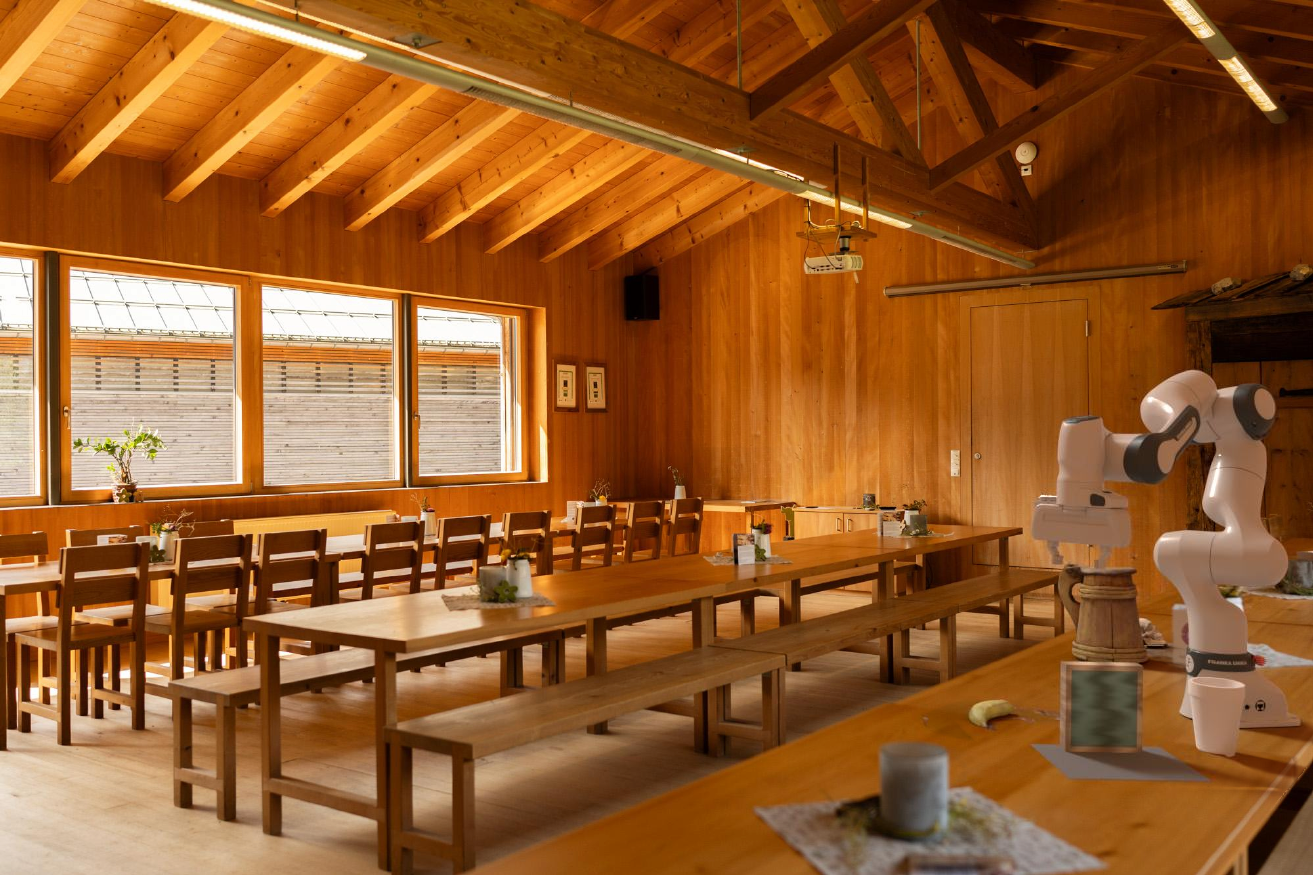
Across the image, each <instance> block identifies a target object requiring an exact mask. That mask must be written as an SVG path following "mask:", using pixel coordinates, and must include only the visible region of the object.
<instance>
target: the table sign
mask: <svg viewBox="0 0 1313 875" xmlns="http://www.w3.org/2000/svg"><path fill="white" fill-rule="evenodd" d="M1059 679H1060V681H1059V682H1060V684H1059V685H1060V687H1059V688H1060V691H1059V692H1060V693H1059V694H1060V695H1059V700H1060V701H1059V702H1060V703H1059V712H1060V720H1059V745H1060V748H1062V749H1063V750H1064V751H1067V752H1115V753H1142V746H1143V719H1144V718H1143V713H1144V708H1143V707H1144V695H1143V694H1144V666H1143V665H1142V664H1140V663H1123V662H1090V661H1063V660H1061V661H1060V678H1059Z"/></svg>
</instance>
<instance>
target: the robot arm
mask: <svg viewBox="0 0 1313 875" xmlns="http://www.w3.org/2000/svg"><path fill="white" fill-rule="evenodd" d="M1277 410H1278V409H1277V402H1276V399H1275V397H1274V394H1273V393H1272V392H1271V391H1270V390H1269V389H1268V388H1267V387H1266V386H1264V385H1263V384H1261V383H1255V382H1254V383H1252V382H1251V383H1242V384H1239V385H1238V386H1237V385H1236V386H1231V387H1230V386H1229V387H1224V388H1220V389H1218V388H1217V384H1216V382H1215V381H1214V379H1213V378H1212V377H1211V376H1210V375H1208V373H1205V372H1204V371H1201V370H1196V369H1190V370H1184V371H1182V372H1180V373H1177V374H1174V375H1173V376H1171V377H1169V378H1167V379H1166V380H1164V381H1162V382H1161V383H1159V384H1158V385H1157V386H1155V387H1154V388H1152V389H1151V390H1150V391H1149V392H1148V393H1147V394H1146V395H1145V396H1144V398H1143V399H1142V401H1141V403H1140V411H1139V412H1140V418H1141V420H1142V423H1143V424H1144V426H1145V428H1146V429H1147V430H1149V432H1147V433H1113V432H1112V431H1110V430H1108V429H1107V427H1105V426H1104V420H1103V418H1102V417H1101V416H1098V415H1080V416H1079V415H1078V416H1077V415H1076V416H1069V417H1068V418H1066V419H1064V420H1063V421H1062V423H1061V426H1060V430H1059V436H1058V442H1057V463H1058V467H1059V468H1058V470H1059V472H1058V476H1057V478H1056V495H1047V494H1041V495H1040V496H1039V497H1037V498H1036V499H1035V500H1034V503H1033V515H1032V519H1031V520H1032V521H1031V528H1030V531H1031V532H1030V535H1031V537H1032V538H1033V540H1037V541H1045V542H1046V547H1047V550H1048V551H1049V553H1050V555H1051V564H1052V565H1059V566H1061V565H1064V555H1061V554H1060V552H1059V550H1058V547H1060V543H1065V544H1066V543H1068V544H1079V545H1090V546H1098V547H1099V552H1101V554H1100V556H1098V559H1094V560H1093V563H1094V566H1093V567H1094V568H1095V569H1106V567H1107V560H1108V559H1109V557H1110V556H1111V555H1112V553H1113V548H1127V547H1128V546H1129V545H1130V544H1131V542H1132V525H1131V524H1132V523H1131V516H1130V514H1129V512H1128V510H1126V509H1127V508H1129V507H1128V506H1129V498H1128V497H1127V496H1124V495H1122V494H1119V493H1117V492H1114V491H1111V490H1109V489H1108V488H1105V482H1120V483H1121V482H1122V483H1123V482H1125V483H1138V484H1145V485H1151V486H1153V485H1158V484H1160V483H1162V482H1163V481H1164V480H1165V479H1167V478H1168V476H1170V474H1171V472H1172V471H1173V469H1174V466H1175V464H1176V461H1177V460H1178V459H1179V458H1180V456H1181V455H1182V454H1183V453H1184V451H1185V450H1186V449H1187V448H1188V446H1189V445H1191V446H1192V445H1194V446H1201V445H1204V444H1207V443H1214V445H1215V449H1216V450H1215V454H1214V456H1213V460H1212V461H1211V465H1210V468H1209V471H1208V475H1207V479H1206V482H1205V488H1204V492H1203V496H1202V501H1201V503H1202V509H1203V511H1204V514H1206V516H1207V517H1208V518H1209V519H1210V520H1212V521H1213V522H1214V523H1216V524H1218V525H1219V526H1221V527H1224V528H1225V529H1224V530H1222V531H1208V530H1207V531H1205V530H1192V529H1191V530H1189V529H1183V530H1175V531H1167V532H1165V533H1163V534H1162V535H1160V537H1159V538H1158V540H1157V541H1156V542H1155V545H1154V547H1153V555H1152V556H1153V561H1154V565H1155V566H1156V568H1157V570H1158V571H1159V572H1160V573H1161V575H1163V576H1164V577H1165V578H1167V579H1168V580H1169V581H1170V582H1171V583H1172V585H1173V586H1174V587H1175V588H1176V589H1177V591H1178V593H1179V594H1180V596H1181V599H1182V600H1183V603H1184V605H1185V610H1186V613H1187V623H1188V624H1187V625H1188V626H1187V628H1188V646H1186V650H1185V652H1186V653H1185V654H1186V655H1185V672H1186V682H1185V683H1186V684H1185V689H1184V694H1183V698H1182V703H1181V704H1180V708H1179V714H1181V715H1182V716H1184V717H1186V718H1189V719H1192V720H1193V717H1192V709H1191V701H1190V694H1189V693H1188V680H1189V679H1190V678H1195V677H1212V678H1222V679H1228V680H1234V681H1237V682H1241V683H1243V684H1244V685H1245V699H1244V701H1243V707H1242V714H1241V720H1240V726H1239V729H1242V728H1243V729H1244V728H1245V729H1247V728H1276V727H1278V728H1279V727H1280V728H1281V727H1299V726H1301V719H1300V717H1298V716H1297V715H1295V714H1294V713H1290V712H1289V708H1288V702H1287V698H1286V695H1285V693H1284V692H1283V691H1282V689H1281V688H1279V687H1278V686H1277V685H1276V684H1275V683H1273V682H1272V681H1270V679H1269V678H1267V677H1265V676H1264V675H1263V674H1261V673H1260V672H1259V671H1258V670H1257V668H1256V665H1258V666H1260V667H1264V666H1265V665H1266V664H1267V659H1266V657H1264V656H1261V655H1260V654H1259V655H1258V654H1256V655H1254V654H1253V653H1251V652H1249V651H1248V627H1249V626H1248V617H1247V615H1246V614H1245V612H1244V611H1243V609H1241V608H1240V607H1239V606H1238V605H1236V604H1235V603H1233V602H1230V601H1229V600H1227V599H1226V598H1225V597H1224V596H1223V594H1222V593H1221V592H1220V588H1219V585H1225V586H1234V587H1235V586H1236V587H1247V588H1256V587H1270V586H1275V585H1277V584H1279V583H1280V582H1281V581H1282V580H1283V578H1284V577H1285V575H1286V574H1287V571H1288V568H1289V558H1288V553H1287V550H1286V549H1285V547H1284V545H1283V544H1282V543H1281V542H1280V541H1279V540H1278V539H1276V538H1275V537H1274V536H1272V535H1271V534H1270V533H1269V531H1268V530H1267V529H1266V528H1265V526H1264V524H1263V521H1262V518H1261V510H1262V509H1261V508H1262V507H1261V506H1262V502H1263V501H1262V499H1263V493H1264V488H1265V483H1266V478H1267V466H1268V465H1267V459H1268V458H1267V456H1268V455H1267V450H1266V449H1267V448H1266V446H1265V445H1264V443H1263V442H1262V440H1264V439H1265V438H1267V436H1268V435H1269V434H1270V431H1271V428H1272V426H1273V425H1274V422H1275V419H1276V416H1277Z"/></svg>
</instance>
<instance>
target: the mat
mask: <svg viewBox="0 0 1313 875" xmlns="http://www.w3.org/2000/svg"><path fill="white" fill-rule="evenodd" d="M1029 745H1030V746H1032V748H1034V749H1035V750H1036V751H1037V752H1038V753H1039V754H1040V755H1042V756H1043V757H1044V758H1045V759H1046V760H1047V761H1048V762H1049V763H1051V764H1052V765H1053V766H1054V768H1056V769H1057V770H1058V771H1059V772H1060V773H1061V774H1063V775H1064V776H1065V777H1067V779H1068V780H1069V779H1071V780H1105V781H1106V780H1108V781H1109V780H1110V781H1113V780H1115V781H1153V782H1154V781H1156V782H1194V783H1195V782H1197V783H1200V782H1203V783H1204V782H1205V783H1213V780H1211V779H1209V778H1208V777H1207V776H1205V775H1203V774H1201V773H1200V772H1199V771H1197V770H1195V769H1194V768H1193V767H1191V766H1189V765H1188V764H1186V763H1184V762H1183V761H1182V760H1180V759H1179V758H1178V757H1176V756H1174V755H1172V753H1169V752H1168V751H1166V750H1165V749H1163V748H1162V747H1161V746H1143V745H1142V753H1115V752H1067V751H1064V750H1063V749H1062V748H1060V744H1049V743H1048V744H1046V743H1045V744H1044V743H1043V744H1041V743H1039V744H1038V743H1030V744H1029Z"/></svg>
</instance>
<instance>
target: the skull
mask: <svg viewBox="0 0 1313 875" xmlns="http://www.w3.org/2000/svg"><path fill="white" fill-rule="evenodd" d="M1139 622H1140V628H1141V634H1142V639H1143V644H1144V645H1167V646H1168V643H1167V641H1166V640H1164V638H1163V634H1162V633H1161V632H1160V631H1159V630H1158V629H1157V626H1155V625H1153V624H1152V621H1151V620H1149V619H1148V618H1142V617H1139ZM1166 643H1167V644H1166Z"/></svg>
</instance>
